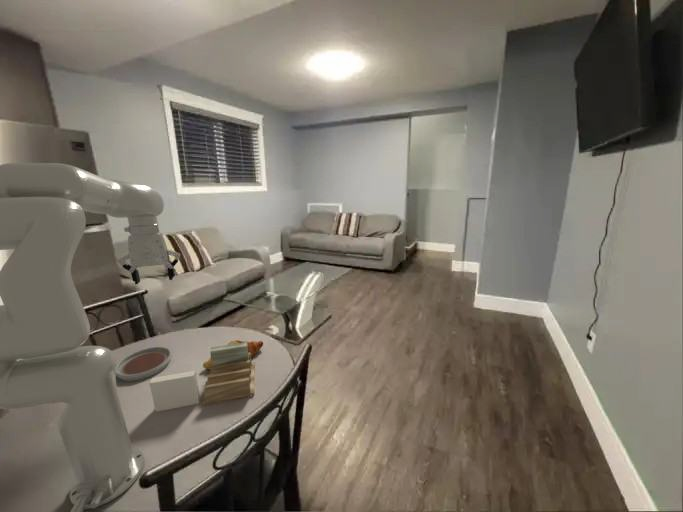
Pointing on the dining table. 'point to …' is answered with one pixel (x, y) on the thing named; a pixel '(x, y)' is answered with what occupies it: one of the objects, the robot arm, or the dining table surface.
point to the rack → (230, 374)
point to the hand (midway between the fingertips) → (154, 280)
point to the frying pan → (143, 363)
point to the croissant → (252, 346)
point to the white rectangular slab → (175, 390)
